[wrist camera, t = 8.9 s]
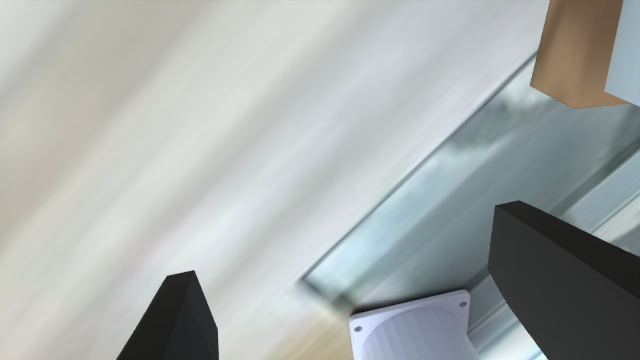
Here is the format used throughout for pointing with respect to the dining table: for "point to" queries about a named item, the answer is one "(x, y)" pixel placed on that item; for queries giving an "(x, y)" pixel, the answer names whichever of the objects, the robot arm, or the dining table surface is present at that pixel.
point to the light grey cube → (626, 55)
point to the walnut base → (577, 52)
